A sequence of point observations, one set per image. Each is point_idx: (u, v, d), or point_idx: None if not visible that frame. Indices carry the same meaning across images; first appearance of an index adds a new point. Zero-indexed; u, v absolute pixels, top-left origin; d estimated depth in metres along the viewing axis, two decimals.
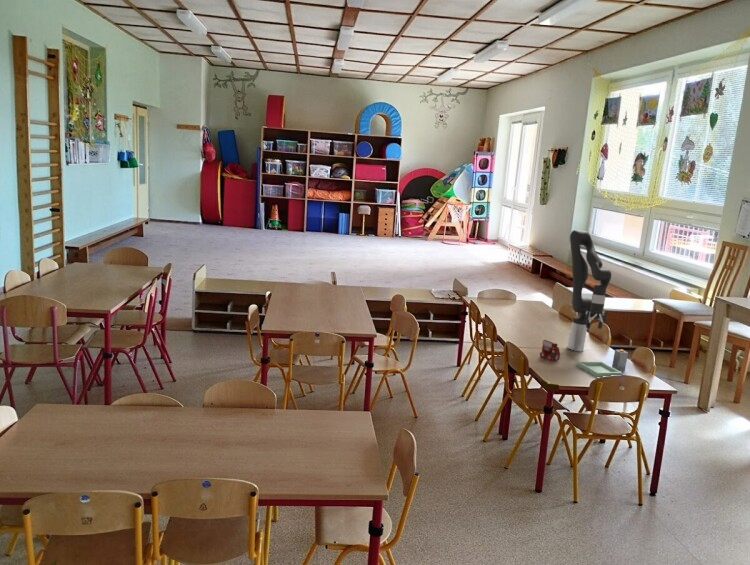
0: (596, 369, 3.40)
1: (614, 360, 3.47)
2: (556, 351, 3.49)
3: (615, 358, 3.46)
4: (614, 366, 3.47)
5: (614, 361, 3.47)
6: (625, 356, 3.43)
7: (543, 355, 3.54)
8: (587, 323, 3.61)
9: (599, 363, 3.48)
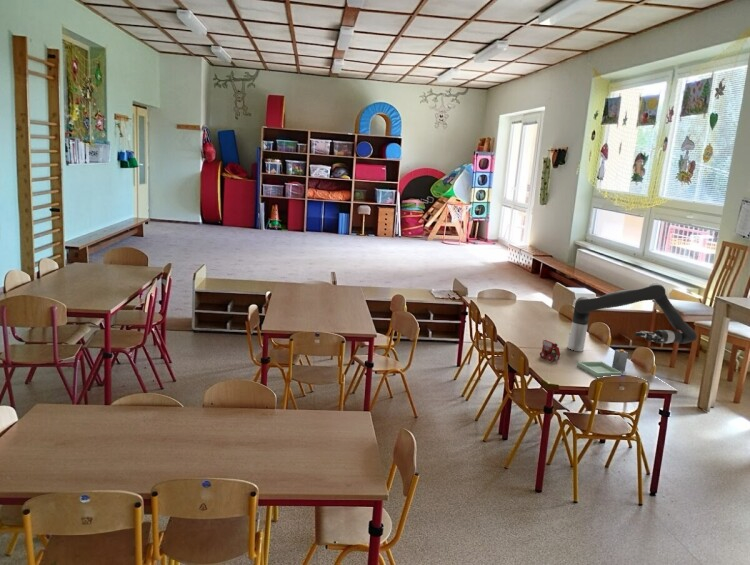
0: (596, 369, 3.40)
1: (614, 360, 3.47)
2: (556, 351, 3.49)
3: (615, 358, 3.46)
4: (614, 366, 3.47)
5: (614, 361, 3.47)
6: (625, 356, 3.43)
7: (543, 355, 3.54)
8: None
9: (599, 363, 3.48)
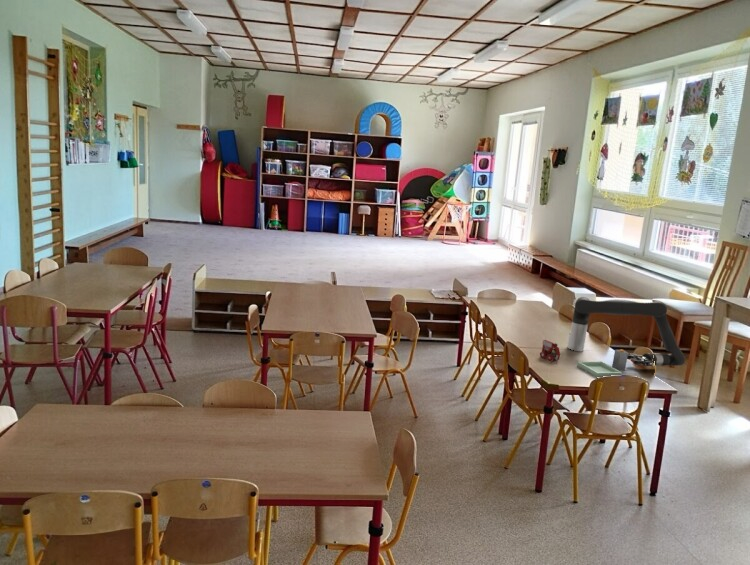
0: (596, 369, 3.40)
1: (614, 360, 3.47)
2: (556, 351, 3.49)
3: (615, 358, 3.46)
4: (614, 366, 3.47)
5: (614, 361, 3.47)
6: (625, 356, 3.43)
7: (543, 355, 3.54)
8: None
9: (599, 363, 3.48)
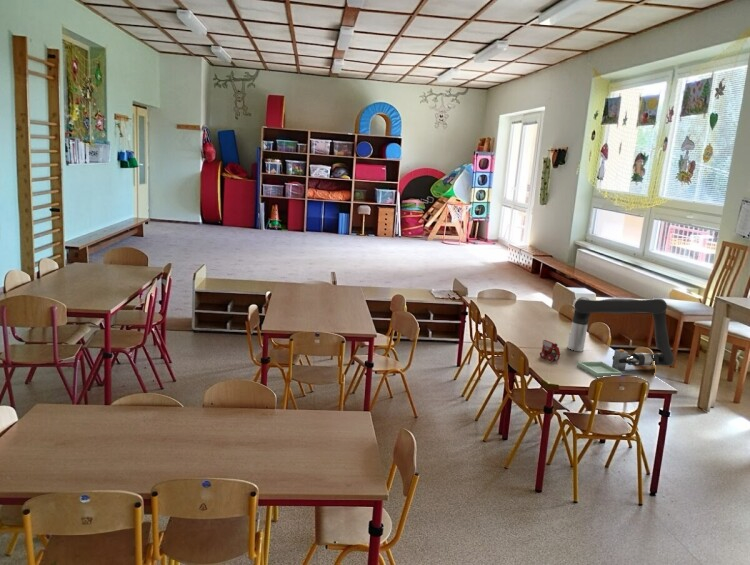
0: (596, 369, 3.40)
1: (614, 360, 3.47)
2: (556, 351, 3.49)
3: (615, 358, 3.46)
4: (614, 366, 3.47)
5: (614, 361, 3.47)
6: (625, 356, 3.43)
7: (543, 355, 3.54)
8: None
9: (599, 363, 3.48)
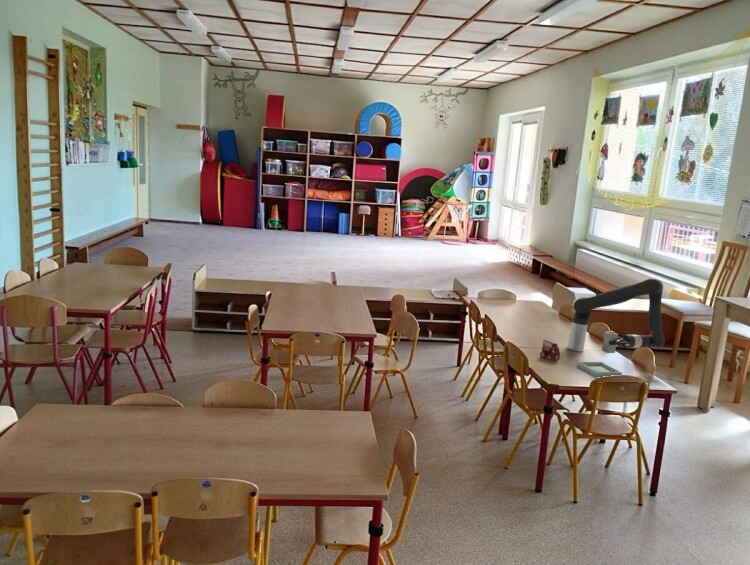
0: (596, 369, 3.40)
1: (604, 342, 3.38)
2: (556, 351, 3.49)
3: (605, 340, 3.37)
4: (604, 348, 3.38)
5: (604, 343, 3.38)
6: (615, 338, 3.35)
7: (543, 355, 3.54)
8: None
9: (599, 363, 3.48)
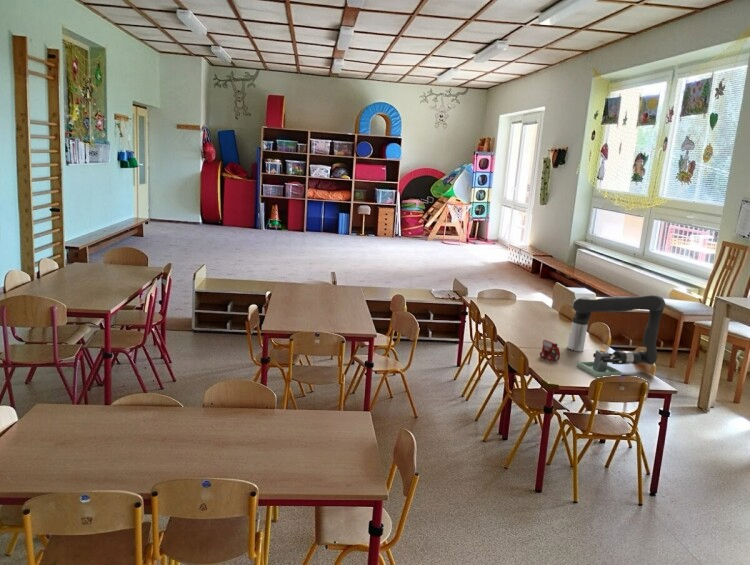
0: None
1: (595, 361, 3.38)
2: (556, 351, 3.49)
3: (596, 359, 3.37)
4: (595, 367, 3.38)
5: (595, 362, 3.38)
6: (606, 357, 3.35)
7: (543, 355, 3.54)
8: None
9: None
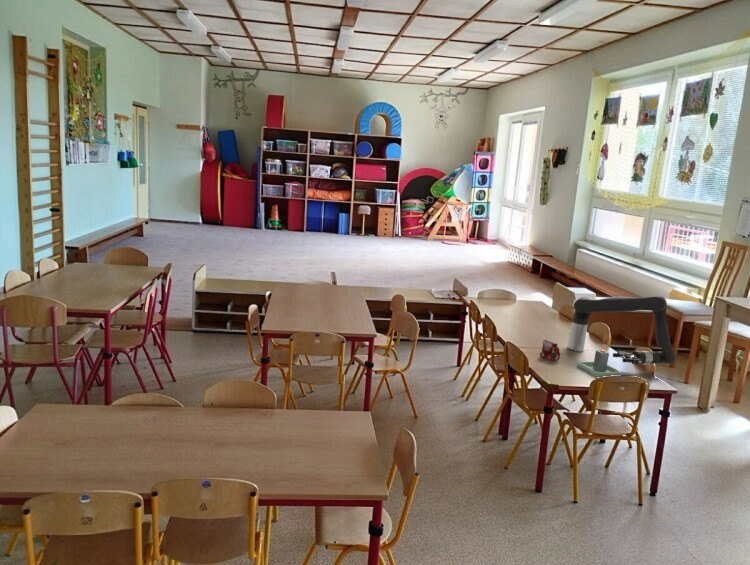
0: None
1: (595, 361, 3.38)
2: (556, 351, 3.49)
3: (596, 359, 3.37)
4: (595, 367, 3.38)
5: (595, 362, 3.38)
6: (606, 357, 3.35)
7: (543, 355, 3.54)
8: None
9: None
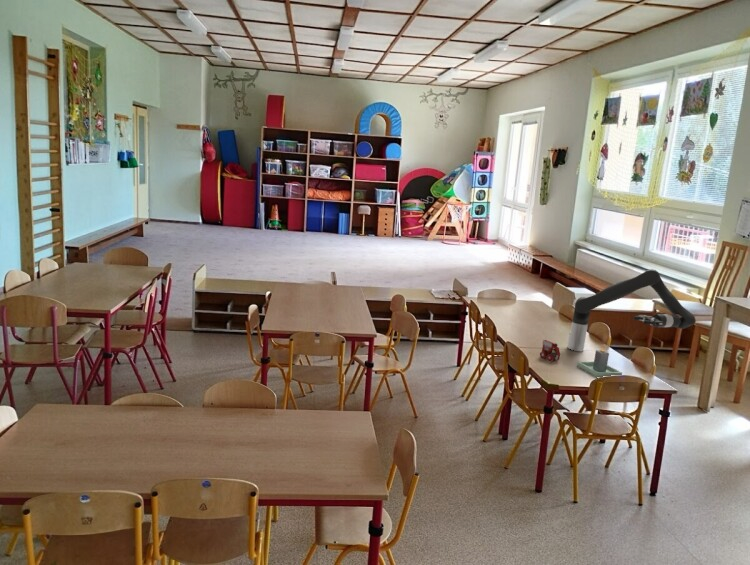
0: None
1: (595, 361, 3.38)
2: (556, 351, 3.49)
3: (596, 359, 3.37)
4: (595, 367, 3.38)
5: (595, 362, 3.38)
6: (606, 357, 3.35)
7: (543, 355, 3.54)
8: None
9: None
